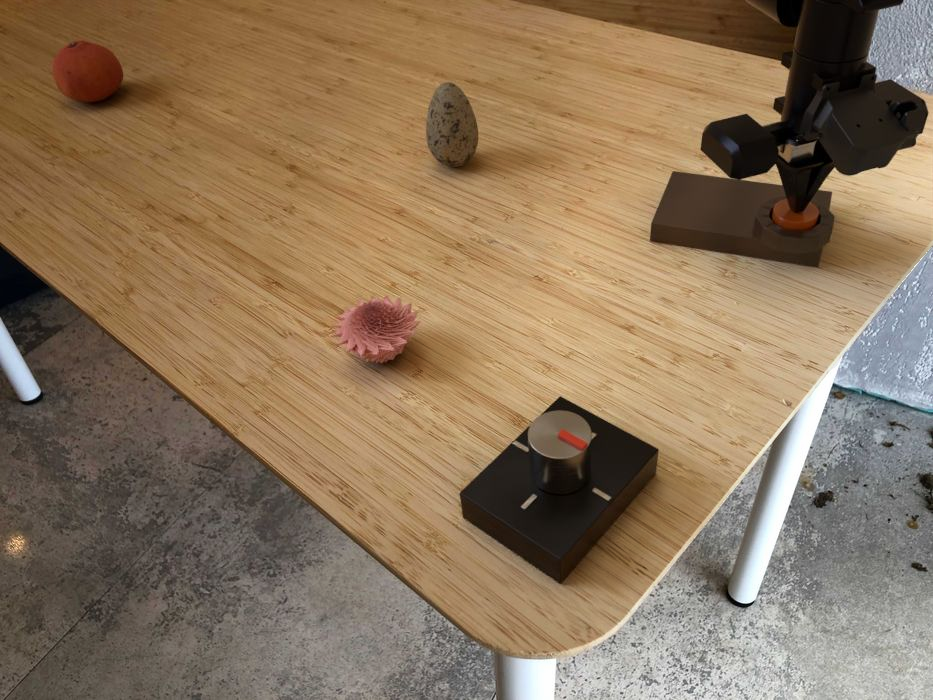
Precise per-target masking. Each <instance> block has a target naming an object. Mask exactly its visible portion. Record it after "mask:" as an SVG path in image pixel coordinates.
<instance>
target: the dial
mask: <svg viewBox="0 0 933 700" xmlns="http://www.w3.org/2000/svg"><path fill="white" fill-rule="evenodd" d="M541 414H542V413H541ZM541 414H540V415H538V416H537V417H536V418H535V419H534V420H533V421H532V422H531V423H530V424H529V426H530V427H529V426H528V427H529V430H528V448H529V467H530V476H531V478H532V480H533V482H534V483H535V484H536V485H537V486H538V487H539V488H540V489H542V490H544V491H546V492H548V493H552V494H560V495H561V494H569V493H573V492H575V491H577V490H579V489H581V488H582V487H583V486H584V485H585V484H586V483H587V482H588V480H589V478H590V475H591V448H592V431H591V428H590V426H589V424H588V423H587V422H586V421H585V419H583V418H582V417H581V416H579V415H577V414H575V413H572V412H569V411H560V410H559V411H551V412H547V413H544V414H542V415H541Z"/></svg>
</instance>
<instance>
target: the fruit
mask: <svg viewBox="0 0 933 700" xmlns="http://www.w3.org/2000/svg"><path fill="white" fill-rule="evenodd" d="M121 64H122V63H120V61H119V58H117V56H116V55H115V53H113V51H112V50H110V49H109V48H107V47H106V46H104V45H101V44H98V43H95V42H91V41H86V40H80V39H79V40H73V41H72V42H70V43H68V44H66V45H65V46H64V47H62V48H61V49H60V50H59V51H58V52H57V54H56V55H55V57H54V59H53V62H52V68H51V69H52V70H51V71H52V72H51V73H52V76H53V80H54V83H55V85H56V87H57V89H58V91H60V92H61V94H63V95H64V96H66V97H67V98H69V99H72V100H74V101H77V102H81V103H93V102H95V103H96V102H101V101H103V100H105V99H108V98H109V97H111V96H112V95H114V93H115V92H116V91H117V90H118V89H119V88H120V86H121V84H122V82H123V81H124V70H123V66H122V65H121Z"/></svg>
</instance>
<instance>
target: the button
mask: <svg viewBox="0 0 933 700" xmlns="http://www.w3.org/2000/svg"><path fill="white" fill-rule="evenodd" d="M818 215H819V211H818V208H817V207H816V206H815V205H814V204H812V203H811V202H810V203H809V204H808V205H807V207H806V208H805V210H804V211H803V212H799V213H794V212H793V211H792V210H791V209H790V207H789V204H788V201H787V199H785V200H781V201H779V202H778V203H776V204H775V206H774V209H773V214H772V219H771V220H772V221H773V223H774V224H776V225H778V226H780V227H782V228H784V229H790V230H796V231H802V230H808V229H812V228H814V227H815V226H816V223H817V219H818Z"/></svg>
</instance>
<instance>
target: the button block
mask: <svg viewBox="0 0 933 700" xmlns="http://www.w3.org/2000/svg"><path fill="white" fill-rule="evenodd" d="M832 196H833V191H831V190H823V189H818V191H817V192H816V194H815V195H814V197H813V198H812V200H811V201H810V202H811V203H812V204H814V205H815V206H816V207H817V208H818V211H819V215H818V219H817V223H816V226H815V227H814V228H812V229H808V230H802V231H796V230H790V229H784V228H782V227H780V226H778V225H776V224H774V223H773V221H772V220H771V219H772V214H773V209H774V206H775V204H776V203H778V202H779V201H781V200H785V199H787V198H786V194H785V191H784V188H783V185H782V184H776V183H769V182H761V181H760V182H759V181H754V180H745V179H740V180H738V179H733V178H730V177H723V176H715V175H707V174H699V173H691V172H685V171H684V172H683V171H676V170H672V172H671V174H670V177H669V180H668V182H667V183H666V186H665V189H664V191H663V193H662V196H661V198H660V201H659V202H658V206H657V208H656V211H655V212H654V216H653V218H652V220H651V222H650V233H649V241H650V242H655V243H661V244H668V245H674V246H680V247H687V248H693V249H700V250H706V251H713V252H718V253H723V254H731V255H738V256H744V257H750V258H754V259H755V258H756V259H762V260H768V261H775V262H781V263H787V264H794V265H800V266H806V267H813V268H819V266H820V262H821V257H822V254H823V250H824V247H825V246H827V245H828V244H830V240H831V237H832V233H833V230H834V223H835V217H836V216H835V215H834V213H832V211H831V210H830V209H831V203H832Z"/></svg>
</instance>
